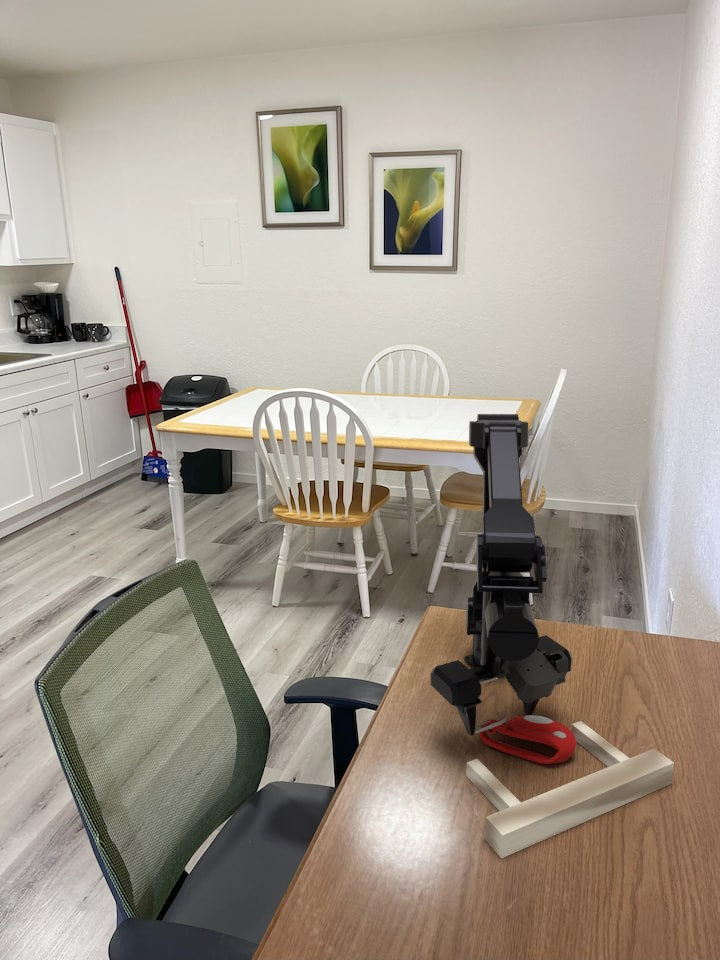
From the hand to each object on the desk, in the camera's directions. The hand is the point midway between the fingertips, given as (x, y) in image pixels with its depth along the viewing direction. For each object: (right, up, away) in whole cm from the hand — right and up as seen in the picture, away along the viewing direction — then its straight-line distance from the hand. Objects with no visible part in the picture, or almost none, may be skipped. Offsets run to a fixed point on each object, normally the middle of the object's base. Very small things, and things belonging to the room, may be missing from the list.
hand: (499, 724), depth 98 cm
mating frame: (+5, -4, -10) cm, 12 cm away
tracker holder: (+3, -2, -2) cm, 4 cm away
